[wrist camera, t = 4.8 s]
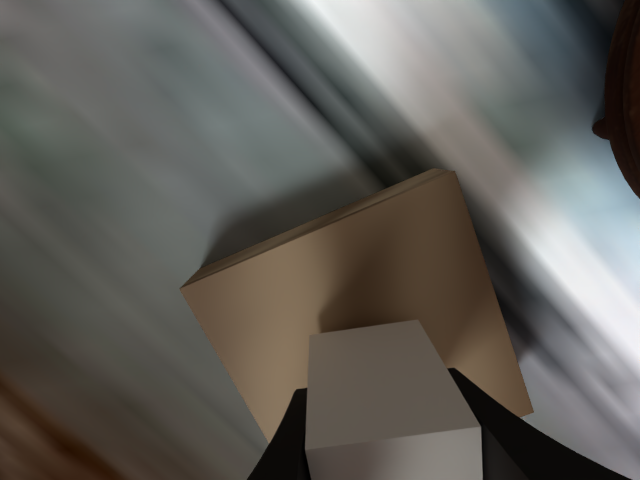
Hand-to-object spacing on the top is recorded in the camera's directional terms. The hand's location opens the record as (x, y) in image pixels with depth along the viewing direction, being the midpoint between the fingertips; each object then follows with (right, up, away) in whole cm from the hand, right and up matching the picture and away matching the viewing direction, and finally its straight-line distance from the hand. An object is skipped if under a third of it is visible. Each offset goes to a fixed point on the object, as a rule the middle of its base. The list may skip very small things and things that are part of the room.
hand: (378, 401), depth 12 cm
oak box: (0, +1, +6) cm, 6 cm away
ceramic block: (0, 0, +2) cm, 2 cm away
